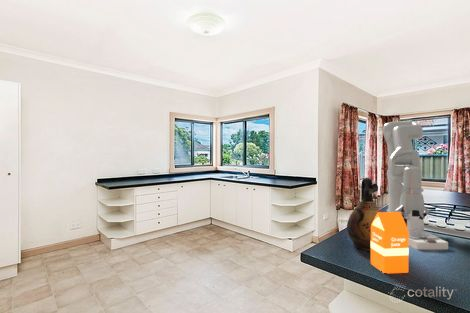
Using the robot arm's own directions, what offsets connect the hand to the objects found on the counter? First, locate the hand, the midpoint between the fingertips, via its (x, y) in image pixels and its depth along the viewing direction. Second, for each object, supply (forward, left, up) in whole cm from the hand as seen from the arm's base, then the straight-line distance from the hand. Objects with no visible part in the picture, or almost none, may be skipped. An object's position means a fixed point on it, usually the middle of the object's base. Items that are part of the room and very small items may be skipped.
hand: (412, 225), depth 126 cm
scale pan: (+13, -7, 0) cm, 15 cm away
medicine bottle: (0, 0, -4) cm, 4 cm away
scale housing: (+15, -7, -3) cm, 17 cm away
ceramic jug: (+19, -33, -4) cm, 38 cm away
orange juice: (+39, -35, -4) cm, 52 cm away
